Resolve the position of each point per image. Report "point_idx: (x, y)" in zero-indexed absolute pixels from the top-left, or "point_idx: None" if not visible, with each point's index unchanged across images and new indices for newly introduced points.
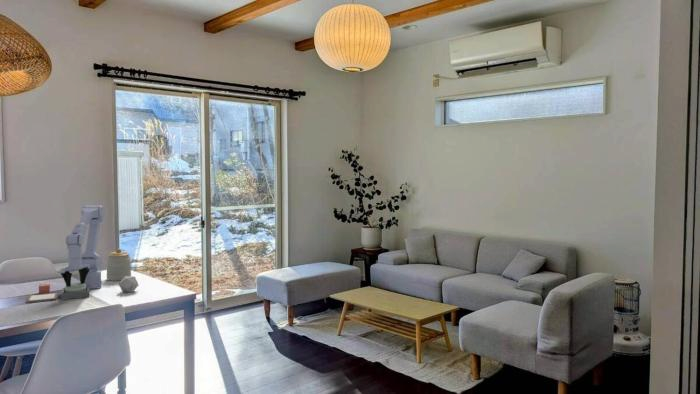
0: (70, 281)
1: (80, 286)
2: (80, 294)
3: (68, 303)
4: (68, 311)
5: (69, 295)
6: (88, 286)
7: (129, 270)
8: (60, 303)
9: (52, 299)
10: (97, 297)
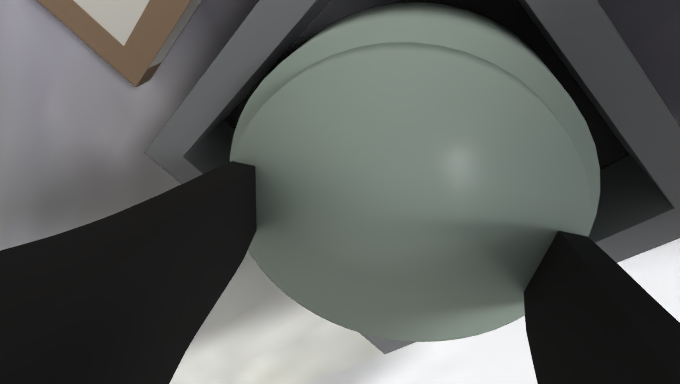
0: (200, 315)
1: (353, 321)
2: None
3: None
4: None
5: None
6: (652, 237)
7: None
8: (119, 211)
9: (107, 51)
10: (395, 356)
